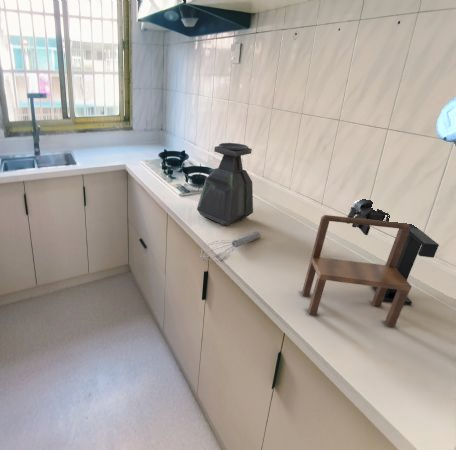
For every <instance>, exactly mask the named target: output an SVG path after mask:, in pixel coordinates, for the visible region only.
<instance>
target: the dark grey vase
mask: <svg viewBox="0 0 456 450" xmlns="http://www.w3.org/2000/svg"><path fill="white" fill-rule="evenodd" d="M213 149H214V150H213V152H215V153H218V154H221V155H223V156H222V157H221V160H220V162H219V165H218V167H216V168H214V169H213V170H212V171H211V172H210V173H209V174H208V175H207V177H206V178H205V180H204V184H203V186H202V190H201V194H200V196H199V201H198V203H197V207H196V210H197V211H198V213H199V215H200V216H202V217H204V218H207V219H209V220H212V221H214V222H216V223H218V224H221V225H224V226H228V225H229V226H230V225H231V224H235V223H237V222H239V221H240V222H241V221H242V220H244V219H246V218H247V217H249V216H250V215H252V214H253V213H254V194H253V180H252V178H251V177H250V174H249V173H248V171H247V170H245V169H244V168H243V162H242V161H243V160H242V156H247V155H251V154H252V151H253V148H250V147H249V146H248V145H246V144H243V143H237V142H236V143H235V142H222V143H219V144H218V146H214V148H213Z"/></svg>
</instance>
